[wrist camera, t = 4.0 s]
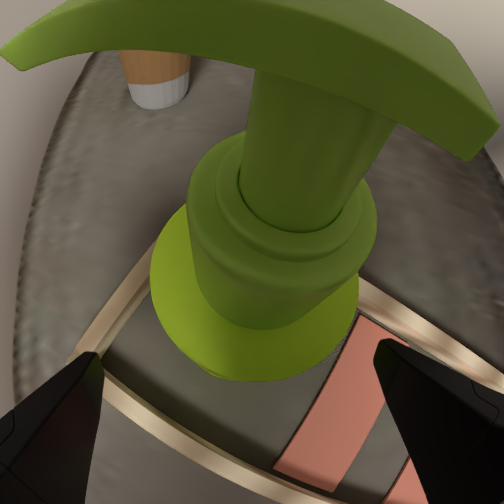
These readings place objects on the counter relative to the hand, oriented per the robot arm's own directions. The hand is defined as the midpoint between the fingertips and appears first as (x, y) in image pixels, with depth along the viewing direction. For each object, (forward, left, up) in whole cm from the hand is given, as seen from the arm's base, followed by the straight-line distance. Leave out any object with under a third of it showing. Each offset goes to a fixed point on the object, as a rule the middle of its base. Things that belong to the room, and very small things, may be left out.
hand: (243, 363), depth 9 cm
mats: (+12, -7, -11) cm, 18 cm away
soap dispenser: (0, +3, -12) cm, 12 cm away
